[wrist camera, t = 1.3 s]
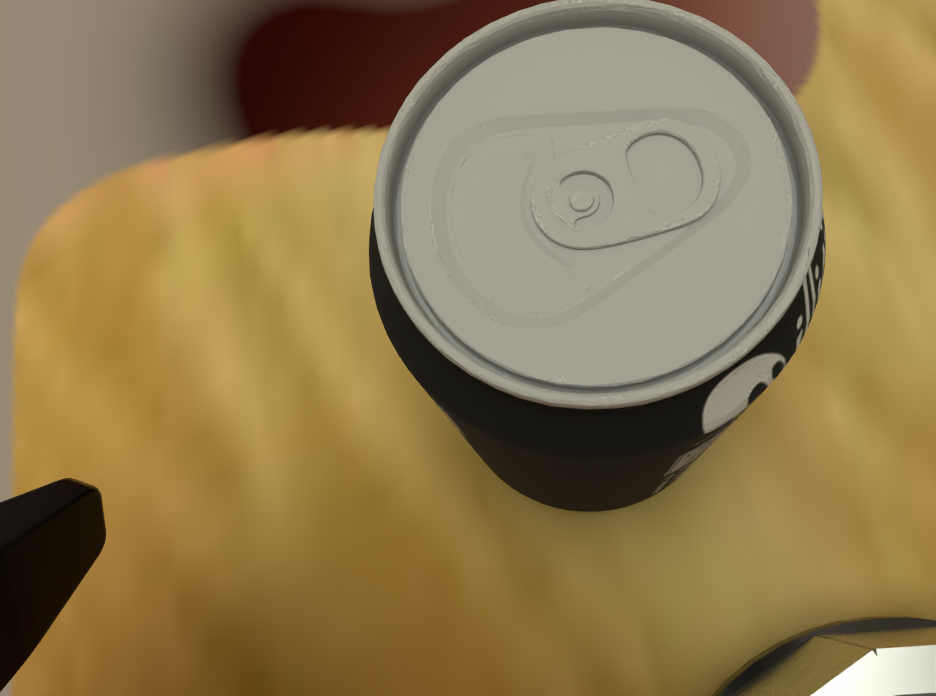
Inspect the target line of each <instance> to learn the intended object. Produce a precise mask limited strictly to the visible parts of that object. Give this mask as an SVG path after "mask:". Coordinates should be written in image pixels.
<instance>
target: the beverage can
mask: <svg viewBox="0 0 936 696" xmlns="http://www.w3.org/2000/svg"><path fill="white" fill-rule="evenodd" d="M822 202H823V185H822V175H821V167H820V162H819V157H818V153H817V150H816V146H815V142H814V139H813V135H812V132H811V130H810V128H809V125H808V123H807V120H806V118H805V116H804V113H803V111H802V109H801V108H800V106H799V105H798V103H797V101H796V100H795V98H794V97H793V95H792V93H791V92H790V90H789V89H788V87H787V86H786V84H785V83H784V82H783V81H782V79H781V78H780V77H779V76H778V75H777V74H776V72H775V71H774V70H773V69H772V68H771V67H770V65H769V64H768V63H767V62H766V61H765V60H764V59H763V58H761V57H760V56H759V55H758V54H757V53H756V52H755V51H754V50H753V49H752V48H751V47H749V46H748V45H747V44H745V43H744V42H743V41H741V40H740V39H738V38H737V37H736V36H734V35H733V34H731V33H730V32H729V31H727V30H725V29H723V28H721V27H719V26H717V25H716V24H714V23H712V22H710V21H708V20H706V19H704V18H702V17H700V16H697V15H695V14H692V13H689V12H687V11H684V10H681V9H679V8H676V7H673V6H670V5H666V4H662V3H658V2H654V1H649V0H558V1H553V2H548V3H543V4H540V5H536V6H533V7H530V8H527V9H523V10H521V11H517V12H515V13H513V14H510V15H508V16H506V17H504V18H501V19H499V20H497V21H495V22H492V23H490V24H489V25H487V26H485V27H484V28H482V29H480V30H478V31H477V32H475V33H473V34H472V35H470V36H468V37H467V38H465V39H464V40H463V41H461V42H460V43H459V44H457V45H456V46H455V47H454V48H452V49H451V50H450V51H448V52H447V53H446V54H445V55H444V56H443V57H442V58H441V59H440V60H439V61H438V62H437V63H436V64H435V65H434V66H433V67H432V68H431V69H430V70H429V71H428V72H427V73H426V74H425V75H424V76H423V77H422V78H421V79H420V81H419V82H418V83H417V84H416V86H415V87H414V89H413V90H412V91H411V93H410V94H409V95H408V97H407V98H406V100H405V102H404V103H403V105H402V106H401V108H400V110H399V112H398V114H397V116H396V117H395V119H394V121H393V123H392V125H391V127H390V130H389V132H388V135H387V138H386V140H385V143H384V145H383V148H382V150H381V154H380V159H379V164H378V170H377V175H376V181H375V187H374V208H373V212H372V217H371V227H370V238H369V265H370V278H371V283H372V288H373V293H374V297H375V301H376V306H377V309H378V312H379V315H380V318H381V320H382V323H383V325H384V328H385V330H386V333H387V335H388V337H389V339H390V341H391V342H392V344H393V346H394V348H395V350H396V351H397V353H398V355H399V356H400V358H401V359H402V361H403V362H404V364H405V365H406V367H407V368H408V370H409V371H410V372H411V373H412V375H413V376H414V377H415V378H416V380H417V381H418V382H419V383H420V385H421V386H422V387H423V388H424V389H425V391H426V392H427V393H428V394H429V395H430V397H431V398H432V399H433V400H434V401H435V403H436V404H437V405H438V406H439V407H440V409H441V410H442V411H443V412H444V414H445V415H446V416H447V417H448V418H449V420H450V421H451V422H452V423H453V424H454V426H455V427H456V428H457V429H458V430H459V432H460V433H461V434H462V435H463V436H464V438H465V439H466V440H467V441H468V442H469V444H470V445H471V446H472V447H473V448H474V450H475V451H476V452H477V453H478V454H479V456H480V457H481V458H482V459H483V461H484V462H485V463H486V464H487V465H488V466H489V467H490V469H491V470H492V471H493V472H494V473H495V474H496V475H497V476H498V477H500V478H501V479H502V480H503V481H504V482H505V483H507V484H508V485H509V486H511V487H512V488H514V489H515V490H517V491H518V492H520V493H522V494H524V495H525V496H527V497H529V498H531V499H533V500H536V501H538V502H541V503H543V504H546V505H549V506H553V507H557V508H561V509H566V510H573V511H606V510H612V509H617V508H622V507H626V506H629V505H632V504H635V503H638V502H640V501H643V500H645V499H647V498H649V497H651V496H653V495H655V494H656V493H658V492H660V491H661V490H663V489H664V488H666V487H667V486H669V485H670V484H671V483H673V482H674V481H675V480H676V479H677V478H678V477H680V476H681V475H682V474H683V473H684V472H685V471H686V470H687V469H688V468H689V467H690V466H691V465H692V464H693V463H694V462H695V461H696V460H697V458H698V457H699V456H700V455H701V454H702V453H703V452H704V451H705V450H706V449H707V448H708V447H709V446H710V445H711V444H712V443H713V442H714V441H715V440H716V439H717V438H718V437H719V436H720V435H721V434H722V433H723V432H724V431H725V430H726V429H727V428H728V427H729V426H730V425H731V424H732V423H733V422H734V421H735V420H736V419H737V418H738V417H739V416H740V415H741V414H742V413H743V412H744V411H745V410H746V409H747V408H748V407H749V406H750V404H751V403H752V402H753V401H754V400H755V399H756V398H757V397H758V396H759V395H760V394H761V393H762V392H763V391H764V390H765V389H766V388H767V387H768V386H769V385H770V384H771V383H772V381H773V380H774V379H775V378H776V377H777V376H778V375H779V373H780V372H781V371H782V370H783V368H784V367H785V366H786V364H787V363H788V361H789V360H790V358H791V357H792V355H793V354H794V353H795V351H796V349H797V347H798V346H799V344H800V342H801V340H802V338H803V336H804V334H805V332H806V330H807V328H808V326H809V323H810V321H811V318H812V316H813V313H814V310H815V307H816V304H817V301H818V298H819V294H820V290H821V285H822V280H823V274H824V265H825V246H826V242H825V225H824V214H823V210H822Z"/></svg>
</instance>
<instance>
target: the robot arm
mask: <svg viewBox="0 0 936 696" xmlns="http://www.w3.org/2000/svg"><path fill="white" fill-rule="evenodd" d="M105 539H106V528H105V520H104V512H103V504H102V497H101V493H100V491H99V490H98V488H96V487H95V486H93V485H90V484H87V483H84V482H82V481H79V480H76V479H72V478H65V479H61V480H58V481H55V482H53V483H50V484H47V485H45V486H42V487H40V488H37V489H34V490H32V491H29V492H26V493H24V494H21V495H18V496H16V497H13V498H11V499H8V500H5V501H3V502H0V692H1V690H2V689H3V688H4V687H5V686H6V685H7V683H8V682H9V681H10V680H11V679H12V677H13V676H14V675H15V674H16V672H17V671H18V670H19V669H20V667H21V666H22V665H23V664H24V662H25V661H26V660H27V659H28V657H29V656H30V655H31V653H32V652H33V651H34V649H35V648H36V646H37V645H38V644H39V642H40V641H41V639H42V638H43V637H44V635H45V634H46V632H47V631H48V629H49V628H50V626H51V625H52V623H53V622H54V620H55V619H56V617H57V616H58V615H59V613H60V612H61V610H62V609H63V607H64V606H65V604H66V603H67V601H68V600H69V598H70V597H71V595H72V594H73V593H74V591H75V590H76V588H77V587H78V585H79V584H80V582H81V581H82V579H83V578H84V576H85V575H86V573H87V572H88V571H89V569H90V568H91V566H92V565H93V563H94V562H95V560H96V559H97V557H98V556H99V554H100V553H101V551H102V549H103V546H104V543H105Z"/></svg>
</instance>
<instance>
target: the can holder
mask: <svg viewBox="0 0 936 696" xmlns="http://www.w3.org/2000/svg"><path fill="white" fill-rule="evenodd" d="M713 696H936V621H933V620H925V619H917V618H909V617H868V618H861V619H854V620H846V621H839V622H835V623H831V624H828V625H824V626H821V627H817V628H814V629H810V630H806V631H804V632H802V633H800V634H797V635H795V636H793V637H791V638H788V639H786V640H784V641H781V642H779V643H777V644H775V645H774V646H772V647H771V648H769V649H767V650H766V651H764V652H763V653H761V654H759V655H758V656H756V657H755V658H753V659H751V660H750V661H749V662H747V663H746V664H745V665H744V666H743V667H742V668H740V669H739V670H738V671H737V672H736V673H734V674H733V675H732V676H731V677H730V678H729V679H727V680H726V681H725V682H724V683H723V684H722V686H721V687H720V688H719V689H718V690H717V691H716V692H715V694H714V695H713Z"/></svg>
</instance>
